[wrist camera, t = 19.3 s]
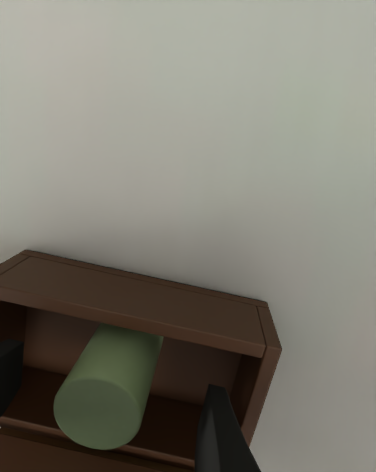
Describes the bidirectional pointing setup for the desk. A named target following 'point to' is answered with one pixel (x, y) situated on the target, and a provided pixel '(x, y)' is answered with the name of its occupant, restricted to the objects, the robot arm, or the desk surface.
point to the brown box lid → (56, 458)
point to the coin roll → (108, 387)
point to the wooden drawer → (145, 320)
